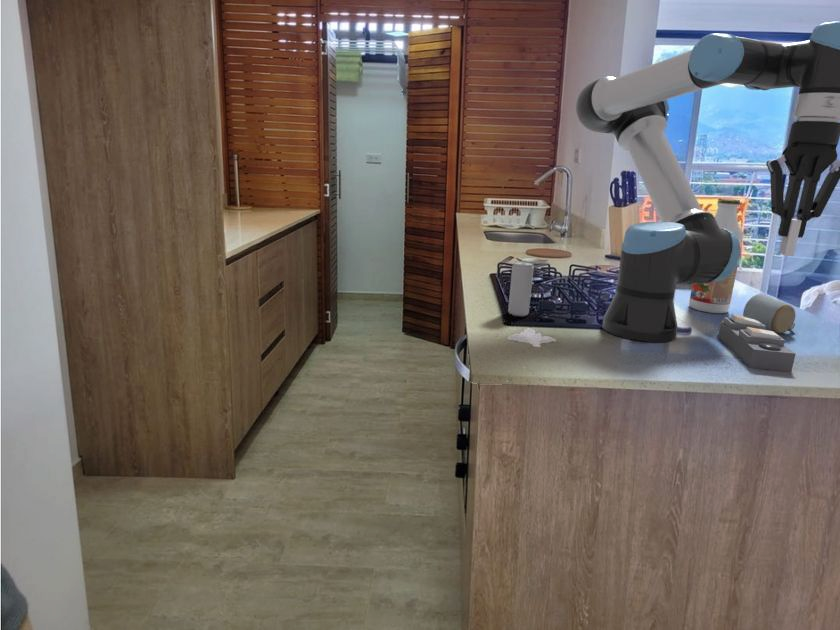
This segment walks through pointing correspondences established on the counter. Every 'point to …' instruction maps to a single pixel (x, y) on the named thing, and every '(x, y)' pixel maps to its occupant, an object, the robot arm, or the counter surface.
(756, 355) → the power strip
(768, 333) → the rocker outlet
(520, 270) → the beverage can
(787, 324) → the ceramic mug
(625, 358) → the counter surface
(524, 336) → the acanthus leaf ornament
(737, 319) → the rocker outlet
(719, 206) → the fruit juice
